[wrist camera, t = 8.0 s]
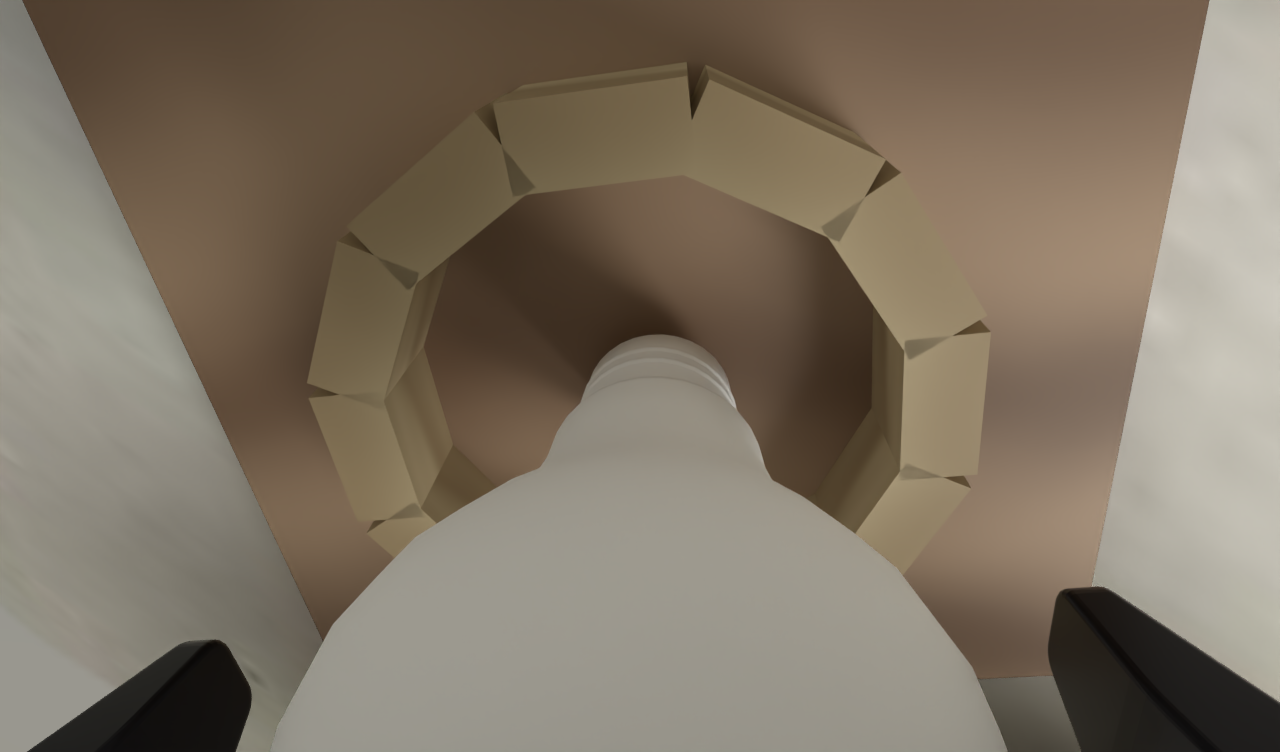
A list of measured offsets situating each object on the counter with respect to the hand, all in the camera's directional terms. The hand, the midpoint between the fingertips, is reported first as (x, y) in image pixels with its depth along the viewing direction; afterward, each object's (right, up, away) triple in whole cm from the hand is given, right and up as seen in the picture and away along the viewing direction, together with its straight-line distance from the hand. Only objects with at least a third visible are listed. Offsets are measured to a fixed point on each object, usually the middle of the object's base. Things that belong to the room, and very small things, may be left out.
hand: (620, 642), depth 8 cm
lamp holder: (0, +3, +6) cm, 7 cm away
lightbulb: (+1, +3, +6) cm, 6 cm away
